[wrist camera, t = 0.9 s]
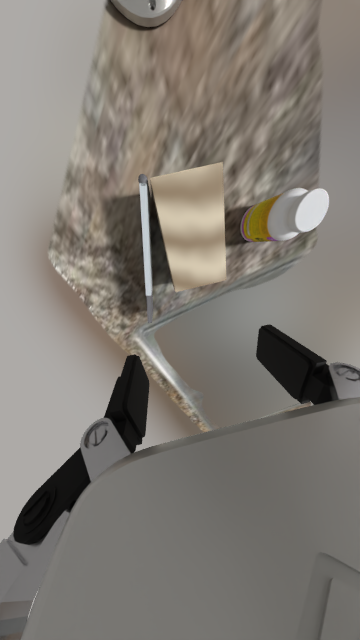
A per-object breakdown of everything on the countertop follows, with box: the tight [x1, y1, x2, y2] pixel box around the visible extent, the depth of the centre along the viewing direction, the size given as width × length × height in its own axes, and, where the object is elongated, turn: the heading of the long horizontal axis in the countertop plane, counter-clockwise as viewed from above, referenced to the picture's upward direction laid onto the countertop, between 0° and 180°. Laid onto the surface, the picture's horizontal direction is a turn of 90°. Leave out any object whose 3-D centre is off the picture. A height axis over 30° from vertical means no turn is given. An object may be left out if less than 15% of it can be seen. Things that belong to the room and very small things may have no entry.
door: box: [138, 174, 153, 323], centre depth 27 cm, size 23×1×6 cm, turn 177°
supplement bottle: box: [240, 188, 329, 242], centre depth 24 cm, size 7×7×13 cm
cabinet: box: [150, 162, 226, 292], centre depth 26 cm, size 16×10×8 cm, turn 12°
